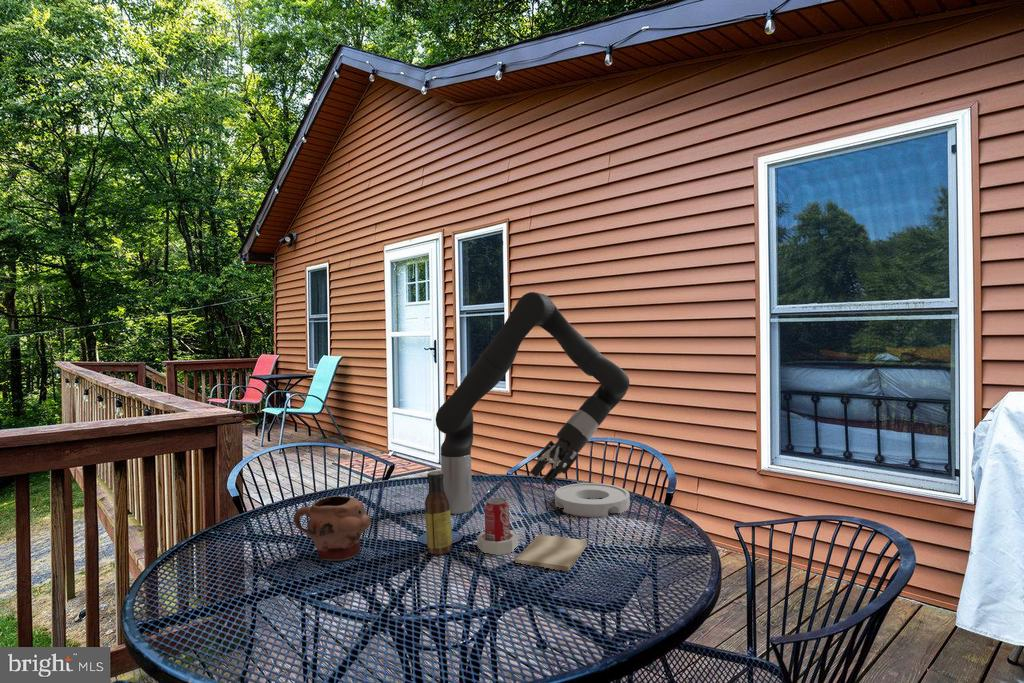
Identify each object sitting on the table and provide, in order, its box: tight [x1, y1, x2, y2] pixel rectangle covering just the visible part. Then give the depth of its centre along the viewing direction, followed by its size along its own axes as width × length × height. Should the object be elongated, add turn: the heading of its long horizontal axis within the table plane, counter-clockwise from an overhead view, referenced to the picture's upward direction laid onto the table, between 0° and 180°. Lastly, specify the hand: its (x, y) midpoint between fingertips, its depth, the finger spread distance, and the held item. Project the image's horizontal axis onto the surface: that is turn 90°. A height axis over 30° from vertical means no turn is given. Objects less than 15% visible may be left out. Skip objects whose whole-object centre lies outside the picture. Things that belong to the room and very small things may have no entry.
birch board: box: [514, 534, 588, 572], centre depth 141 cm, size 13×17×1 cm
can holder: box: [476, 530, 519, 556], centre depth 146 cm, size 10×10×3 cm
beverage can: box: [484, 497, 511, 542], centre depth 146 cm, size 6×6×12 cm
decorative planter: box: [292, 495, 372, 562], centre depth 143 cm, size 20×12×14 cm, turn 88°
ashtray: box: [554, 482, 631, 518], centre depth 180 cm, size 23×23×4 cm
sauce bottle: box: [424, 470, 453, 556], centre depth 144 cm, size 6×6×20 cm
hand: (539, 478), depth 150 cm, fingers open, 8 cm apart
